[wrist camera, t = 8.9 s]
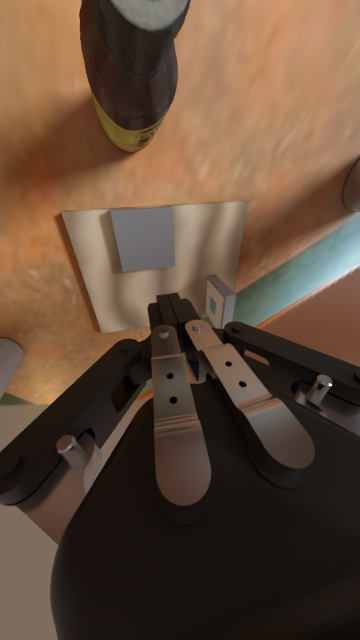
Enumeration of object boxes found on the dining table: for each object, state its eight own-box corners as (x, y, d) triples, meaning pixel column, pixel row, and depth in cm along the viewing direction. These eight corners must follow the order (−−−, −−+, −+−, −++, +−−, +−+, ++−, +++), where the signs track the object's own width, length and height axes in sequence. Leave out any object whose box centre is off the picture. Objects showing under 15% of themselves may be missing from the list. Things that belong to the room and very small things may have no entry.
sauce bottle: (143, 165, 25) (176, 133, 9) (91, 132, 22) (17, 8, 7) (164, 101, 22) (262, -97, 7) (108, 54, 20) (50, -474, 4)
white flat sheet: (242, 200, 30) (247, 201, 29) (227, 308, 42) (231, 312, 41) (63, 210, 26) (61, 212, 25) (102, 329, 37) (102, 333, 36)
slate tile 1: (172, 207, 26) (110, 210, 24) (175, 266, 30) (122, 272, 29) (170, 205, 27) (110, 209, 26) (172, 262, 32) (122, 267, 30)
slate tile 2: (215, 274, 35) (236, 294, 29) (212, 311, 40) (229, 336, 33) (205, 275, 35) (224, 296, 28) (203, 313, 39) (219, 338, 33)
